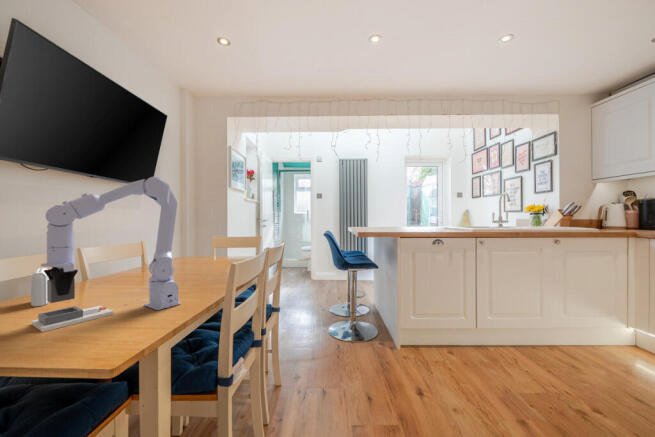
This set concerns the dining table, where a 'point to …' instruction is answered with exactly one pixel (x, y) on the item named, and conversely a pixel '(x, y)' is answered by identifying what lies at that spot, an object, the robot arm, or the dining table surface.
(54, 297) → the gray block
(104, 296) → the dining table surface
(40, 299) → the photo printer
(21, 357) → the dining table surface
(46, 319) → the white flat rectangular base
